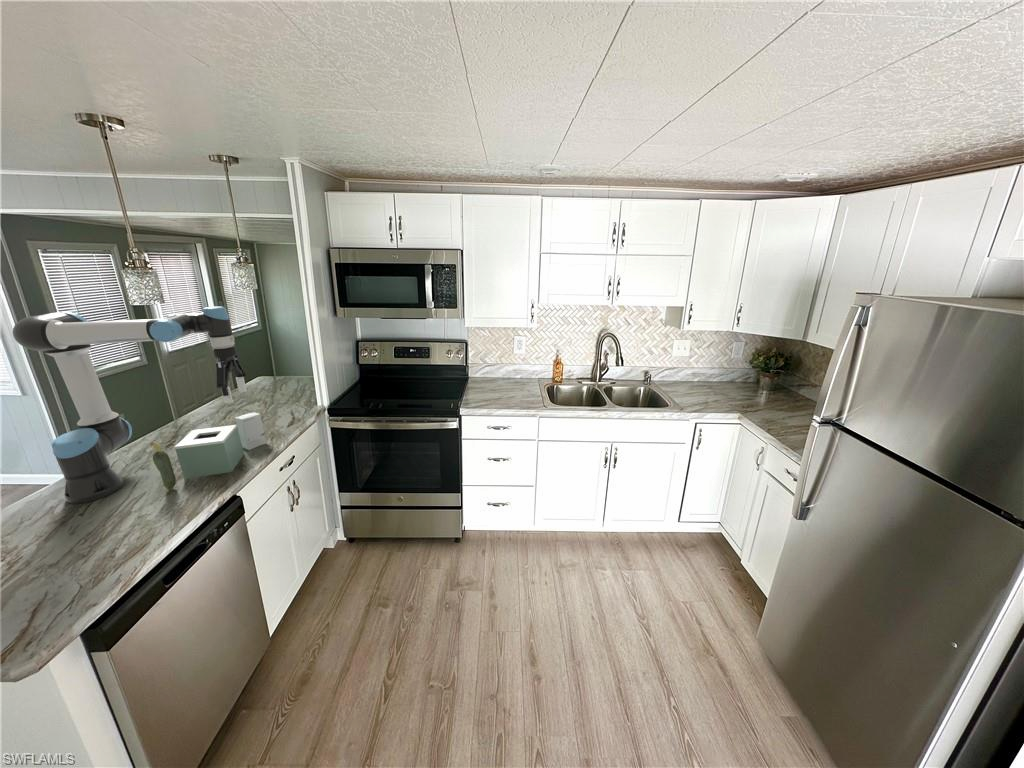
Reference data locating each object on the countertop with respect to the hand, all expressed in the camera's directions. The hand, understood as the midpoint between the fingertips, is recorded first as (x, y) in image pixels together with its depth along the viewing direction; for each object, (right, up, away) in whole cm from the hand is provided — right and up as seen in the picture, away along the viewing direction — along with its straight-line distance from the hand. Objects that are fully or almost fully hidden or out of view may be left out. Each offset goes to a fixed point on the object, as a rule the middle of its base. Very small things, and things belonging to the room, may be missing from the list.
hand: (236, 397), depth 164 cm
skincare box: (-5, -23, +19) cm, 30 cm away
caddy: (-10, -29, +2) cm, 30 cm away
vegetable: (-13, -34, -15) cm, 40 cm away
